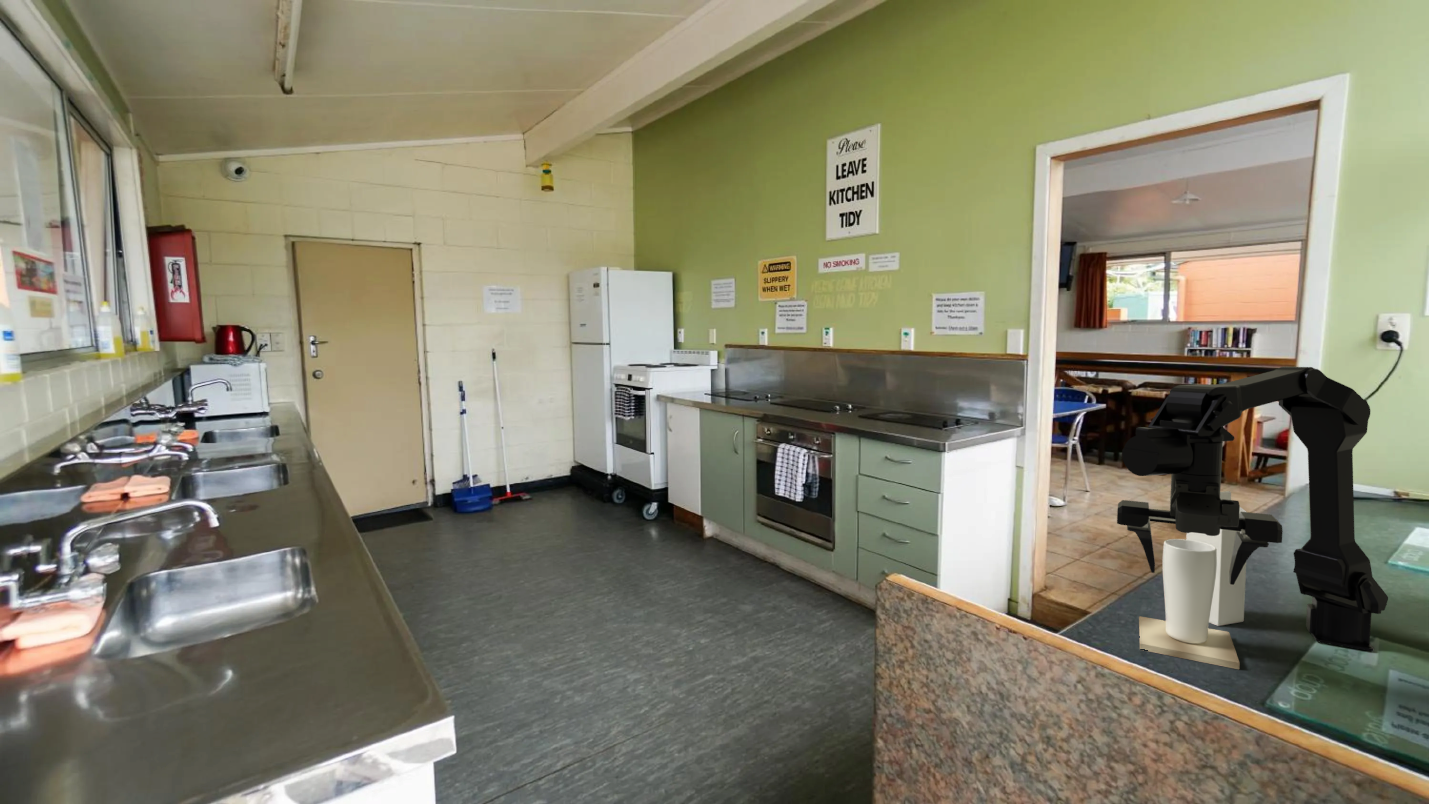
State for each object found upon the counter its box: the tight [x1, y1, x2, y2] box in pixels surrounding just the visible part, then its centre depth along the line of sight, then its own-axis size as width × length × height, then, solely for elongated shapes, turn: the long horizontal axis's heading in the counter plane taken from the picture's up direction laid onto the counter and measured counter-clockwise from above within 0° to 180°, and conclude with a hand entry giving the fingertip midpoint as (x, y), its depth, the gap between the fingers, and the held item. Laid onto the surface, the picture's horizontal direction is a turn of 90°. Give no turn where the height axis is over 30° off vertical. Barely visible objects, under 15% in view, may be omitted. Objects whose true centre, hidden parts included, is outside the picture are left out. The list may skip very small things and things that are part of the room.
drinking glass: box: [1162, 538, 1217, 644], centre depth 99 cm, size 7×7×15 cm
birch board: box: [1138, 616, 1241, 670], centre depth 100 cm, size 12×12×1 cm
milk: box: [1185, 490, 1247, 627], centre depth 109 cm, size 6×6×22 cm
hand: (1191, 577), depth 92 cm, fingers open, 9 cm apart
